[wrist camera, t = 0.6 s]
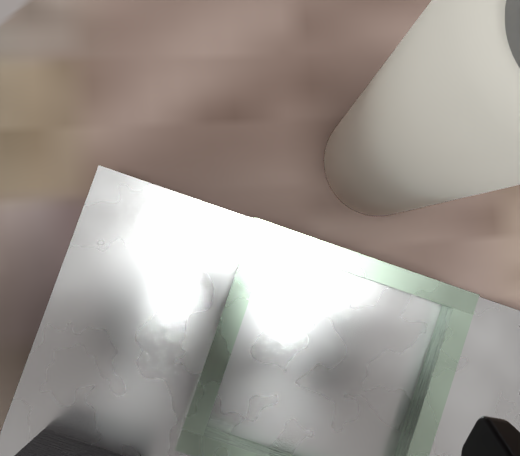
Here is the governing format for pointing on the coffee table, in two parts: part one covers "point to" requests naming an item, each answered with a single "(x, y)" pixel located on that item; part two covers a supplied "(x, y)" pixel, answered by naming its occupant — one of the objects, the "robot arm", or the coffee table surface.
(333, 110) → the coffee table surface
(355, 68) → the coffee table surface
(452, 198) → the cream bottle
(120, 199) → the plate
